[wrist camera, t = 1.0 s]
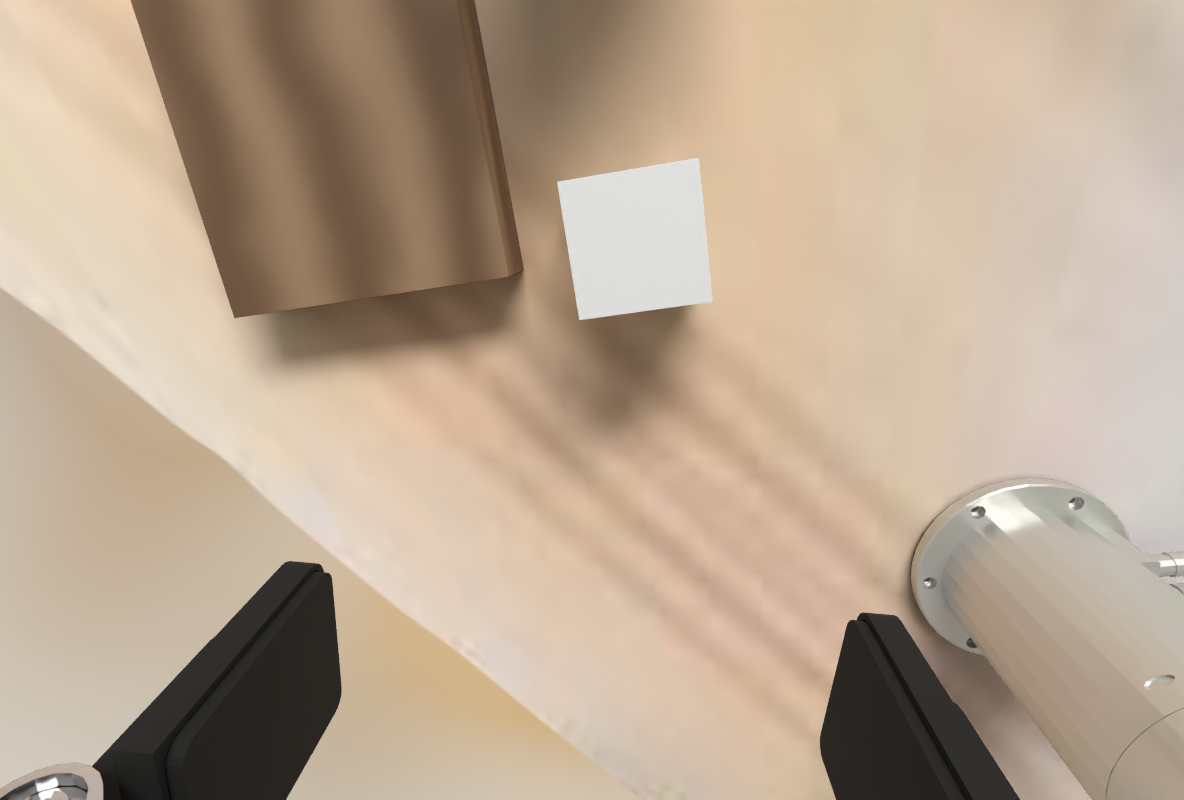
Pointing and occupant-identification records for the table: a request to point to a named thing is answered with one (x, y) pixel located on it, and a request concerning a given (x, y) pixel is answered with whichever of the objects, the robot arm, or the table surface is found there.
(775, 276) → the table surface
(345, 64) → the walnut stand
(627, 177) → the white rectangular block
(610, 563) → the table surface
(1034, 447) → the table surface
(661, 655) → the table surface
